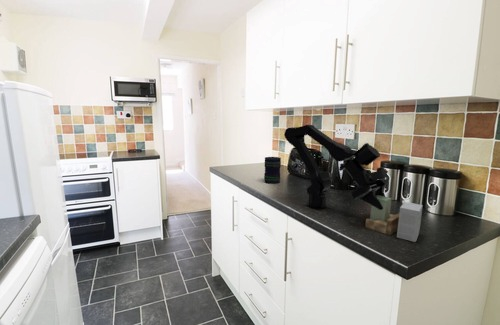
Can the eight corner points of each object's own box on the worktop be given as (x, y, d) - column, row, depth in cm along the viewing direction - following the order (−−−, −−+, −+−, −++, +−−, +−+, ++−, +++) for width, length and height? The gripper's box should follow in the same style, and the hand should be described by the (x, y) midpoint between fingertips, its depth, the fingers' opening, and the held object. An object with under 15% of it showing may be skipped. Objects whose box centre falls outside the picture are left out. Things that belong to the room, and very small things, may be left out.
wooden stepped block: (365, 227, 94) (366, 214, 93) (380, 218, 102) (381, 206, 101) (390, 235, 87) (391, 221, 86) (403, 225, 95) (405, 212, 95)
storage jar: (260, 181, 159) (261, 157, 157) (271, 179, 166) (272, 156, 163) (272, 184, 152) (273, 159, 150) (283, 182, 159) (284, 158, 156)
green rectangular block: (369, 223, 96) (372, 197, 95) (375, 220, 99) (377, 194, 98) (383, 227, 93) (386, 200, 91) (388, 224, 96) (391, 198, 94)
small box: (400, 229, 92) (403, 201, 90) (419, 234, 88) (423, 204, 87) (396, 237, 86) (399, 207, 84) (415, 242, 82) (419, 211, 81)
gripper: (362, 162, 89) (392, 201, 83) (384, 158, 101) (413, 191, 95) (339, 181, 96) (366, 218, 90) (363, 174, 108) (388, 206, 102)
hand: (384, 207), depth 94 cm, fingers closed on green rectangular block, 4 cm apart
